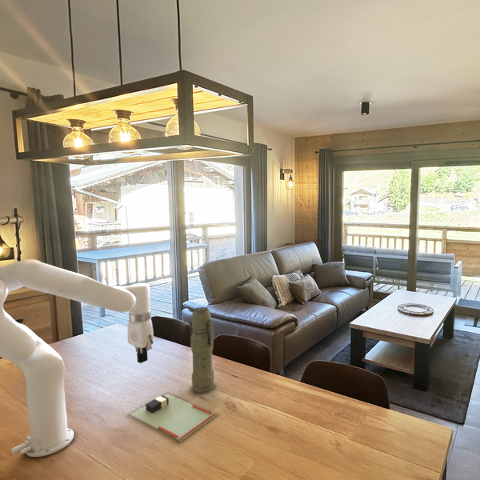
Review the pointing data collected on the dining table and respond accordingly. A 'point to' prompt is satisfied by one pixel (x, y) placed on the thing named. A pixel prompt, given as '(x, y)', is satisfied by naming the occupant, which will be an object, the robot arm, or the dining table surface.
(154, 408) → the eraser
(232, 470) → the dining table surface
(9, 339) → the robot arm
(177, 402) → the desk mat
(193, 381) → the thermos
